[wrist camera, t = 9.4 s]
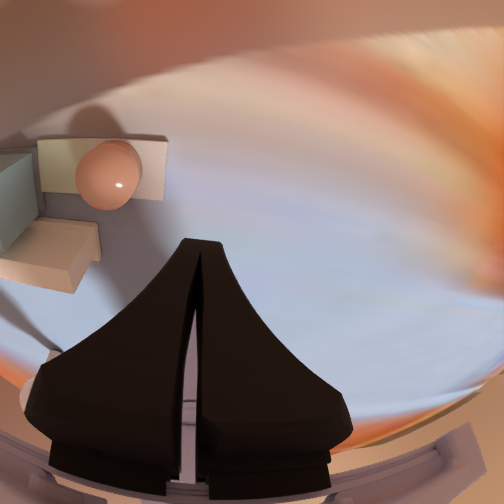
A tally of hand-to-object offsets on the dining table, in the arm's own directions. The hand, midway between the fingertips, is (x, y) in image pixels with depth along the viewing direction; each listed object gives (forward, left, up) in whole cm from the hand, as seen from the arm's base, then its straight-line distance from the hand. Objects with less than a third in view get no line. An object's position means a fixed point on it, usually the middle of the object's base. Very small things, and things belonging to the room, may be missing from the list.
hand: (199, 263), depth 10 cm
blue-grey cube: (-1, +16, -8) cm, 18 cm away
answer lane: (0, +8, -9) cm, 12 cm away
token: (0, +6, -9) cm, 11 cm away
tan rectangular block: (-6, +14, -9) cm, 18 cm away
